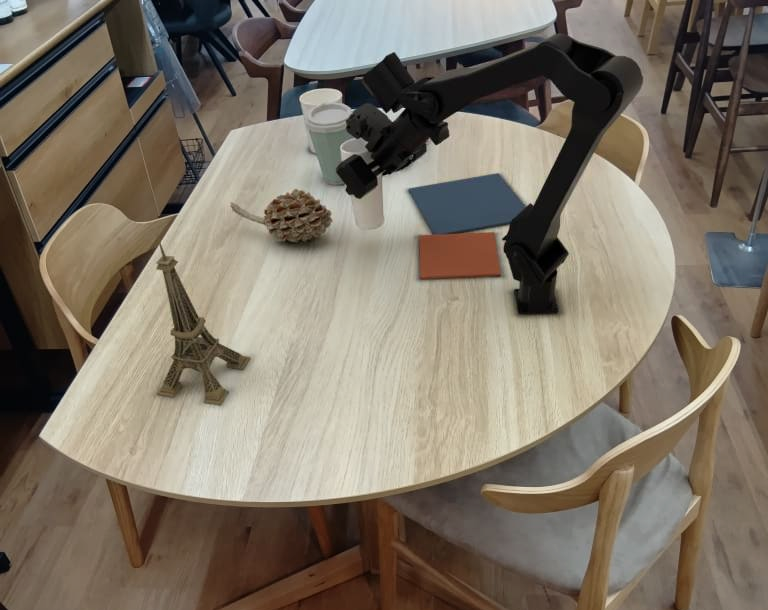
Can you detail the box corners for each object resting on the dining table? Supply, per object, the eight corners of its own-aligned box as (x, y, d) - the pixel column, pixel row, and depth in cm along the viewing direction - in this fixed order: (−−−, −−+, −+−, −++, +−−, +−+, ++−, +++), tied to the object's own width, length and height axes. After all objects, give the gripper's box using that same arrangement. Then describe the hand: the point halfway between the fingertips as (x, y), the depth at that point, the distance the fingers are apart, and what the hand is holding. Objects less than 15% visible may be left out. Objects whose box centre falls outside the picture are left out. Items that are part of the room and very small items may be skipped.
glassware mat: (534, 219, 129) (534, 217, 129) (435, 237, 127) (435, 235, 127) (498, 175, 144) (498, 173, 143) (408, 190, 141) (408, 188, 141)
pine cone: (342, 230, 131) (336, 183, 124) (325, 256, 125) (318, 208, 118) (242, 220, 137) (231, 174, 130) (220, 244, 130) (207, 198, 123)
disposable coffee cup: (368, 183, 145) (362, 114, 135) (321, 194, 143) (312, 125, 132) (352, 164, 152) (345, 97, 142) (307, 175, 150) (297, 107, 140)
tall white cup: (375, 236, 119) (364, 155, 109) (345, 229, 122) (331, 150, 112) (395, 218, 123) (386, 139, 113) (365, 212, 126) (354, 134, 116)
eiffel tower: (220, 405, 97) (172, 258, 80) (157, 394, 100) (96, 250, 83) (250, 358, 104) (211, 214, 87) (190, 350, 107) (141, 208, 90)
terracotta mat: (500, 276, 116) (500, 273, 116) (419, 279, 117) (419, 276, 117) (493, 234, 126) (493, 232, 126) (419, 237, 127) (419, 235, 127)
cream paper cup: (301, 144, 162) (293, 94, 154) (338, 135, 165) (332, 85, 157) (315, 159, 155) (308, 107, 147) (353, 149, 158) (348, 98, 150)
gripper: (409, 73, 110) (363, 128, 122) (337, 113, 99) (295, 168, 112) (450, 129, 111) (400, 177, 124) (384, 174, 101) (337, 221, 114)
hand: (359, 184), depth 118 cm, fingers closed on tall white cup, 6 cm apart
